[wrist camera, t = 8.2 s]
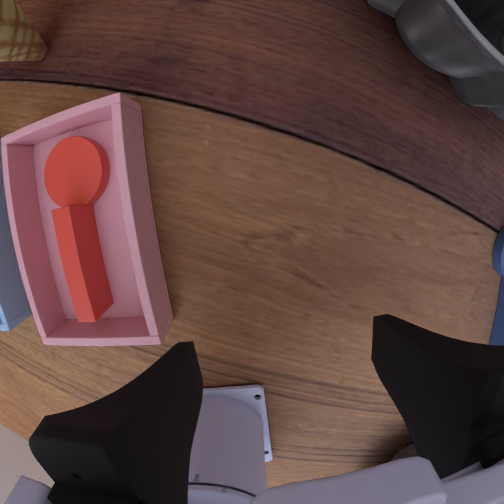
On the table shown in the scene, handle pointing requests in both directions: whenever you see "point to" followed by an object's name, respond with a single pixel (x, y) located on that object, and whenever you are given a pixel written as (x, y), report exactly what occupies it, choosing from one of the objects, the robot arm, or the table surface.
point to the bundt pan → (456, 43)
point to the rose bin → (107, 221)
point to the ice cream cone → (18, 35)
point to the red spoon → (80, 221)
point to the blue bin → (9, 271)
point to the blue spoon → (500, 333)
